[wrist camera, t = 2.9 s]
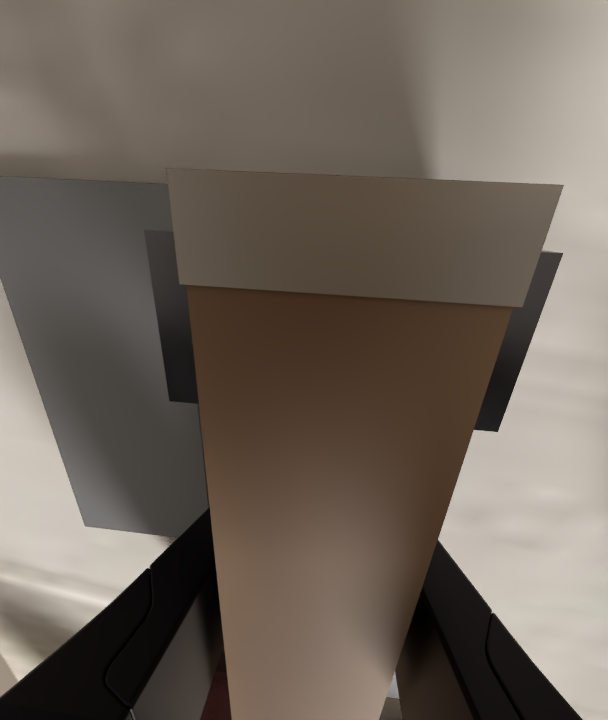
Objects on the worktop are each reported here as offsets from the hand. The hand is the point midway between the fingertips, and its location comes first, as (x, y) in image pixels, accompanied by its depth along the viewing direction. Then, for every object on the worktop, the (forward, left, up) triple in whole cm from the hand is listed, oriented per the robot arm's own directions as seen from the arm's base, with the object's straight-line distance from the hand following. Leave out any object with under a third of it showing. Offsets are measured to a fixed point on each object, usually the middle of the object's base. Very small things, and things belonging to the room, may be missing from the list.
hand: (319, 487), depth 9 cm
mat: (+8, 0, -4) cm, 9 cm away
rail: (0, 0, 0) cm, 0 cm away
